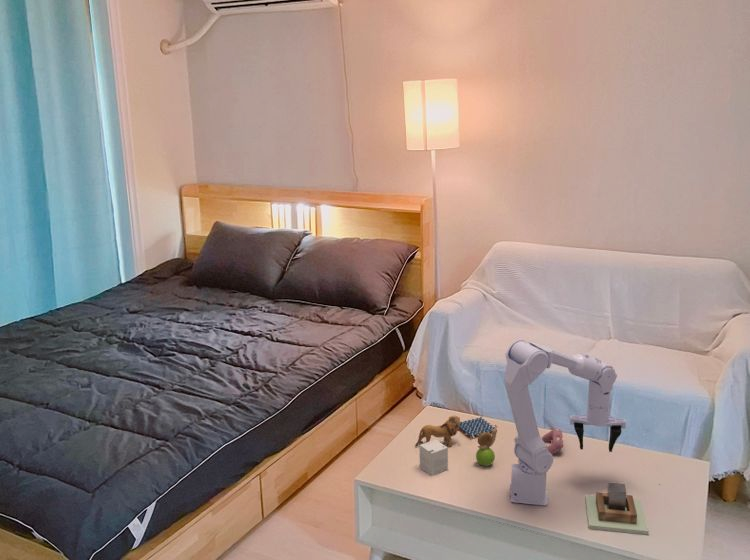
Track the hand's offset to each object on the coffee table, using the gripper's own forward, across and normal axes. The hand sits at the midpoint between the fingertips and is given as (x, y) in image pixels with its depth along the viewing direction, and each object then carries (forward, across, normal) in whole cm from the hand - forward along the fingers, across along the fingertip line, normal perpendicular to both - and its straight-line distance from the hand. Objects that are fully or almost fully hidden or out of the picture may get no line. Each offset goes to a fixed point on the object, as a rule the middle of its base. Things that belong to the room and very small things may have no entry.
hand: (595, 448), depth 195 cm
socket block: (+9, -4, +17) cm, 20 cm away
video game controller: (+10, +11, -16) cm, 22 cm away
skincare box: (+10, +45, +2) cm, 46 cm away
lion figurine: (+10, +45, -13) cm, 48 cm away
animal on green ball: (+10, +30, -3) cm, 32 cm away
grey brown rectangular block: (+8, -4, +17) cm, 19 cm away
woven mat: (+10, +35, -24) cm, 44 cm away
